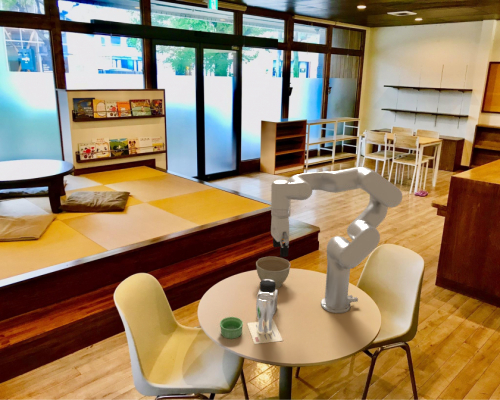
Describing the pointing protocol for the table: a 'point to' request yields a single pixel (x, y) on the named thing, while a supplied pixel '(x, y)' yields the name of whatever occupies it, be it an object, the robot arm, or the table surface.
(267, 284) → the container
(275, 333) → the letter
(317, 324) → the table surface
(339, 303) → the robot arm
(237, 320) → the ramekin
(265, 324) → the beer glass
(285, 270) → the planter bowl
